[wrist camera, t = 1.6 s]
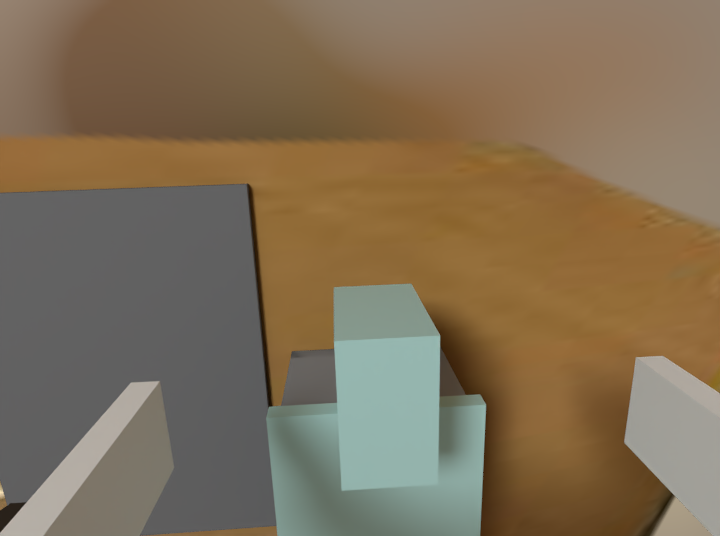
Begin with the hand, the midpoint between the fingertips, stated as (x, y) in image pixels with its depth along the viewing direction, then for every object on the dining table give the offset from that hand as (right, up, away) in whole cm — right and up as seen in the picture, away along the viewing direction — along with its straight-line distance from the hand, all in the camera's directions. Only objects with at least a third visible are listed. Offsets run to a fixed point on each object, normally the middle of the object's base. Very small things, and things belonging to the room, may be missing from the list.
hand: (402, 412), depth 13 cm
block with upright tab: (-1, -5, +9) cm, 10 cm away
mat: (-14, -2, +12) cm, 18 cm away
